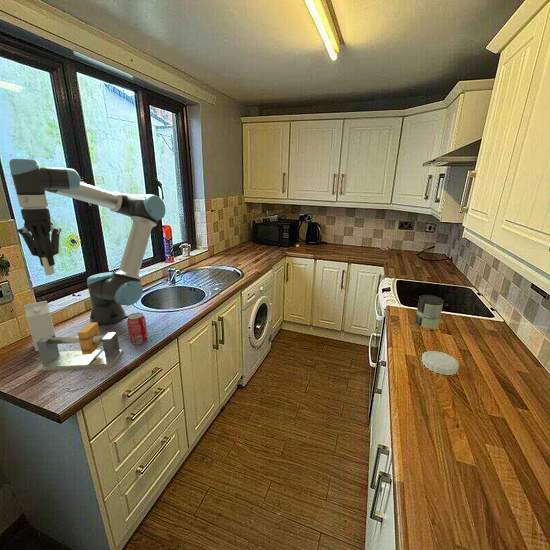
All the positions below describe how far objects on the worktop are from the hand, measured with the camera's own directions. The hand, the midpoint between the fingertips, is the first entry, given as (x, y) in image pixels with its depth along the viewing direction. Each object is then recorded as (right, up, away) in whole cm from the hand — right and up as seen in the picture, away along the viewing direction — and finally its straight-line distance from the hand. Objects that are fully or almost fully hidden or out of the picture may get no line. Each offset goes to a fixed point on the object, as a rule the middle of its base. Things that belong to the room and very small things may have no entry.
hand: (50, 274), depth 104 cm
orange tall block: (+14, -28, +3) cm, 31 cm away
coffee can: (+155, -25, +33) cm, 161 cm away
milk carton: (-13, -30, +14) cm, 35 cm away
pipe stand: (+9, -33, +4) cm, 34 cm away
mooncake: (+143, -35, +3) cm, 147 cm away
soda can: (+24, -29, +18) cm, 42 cm away
